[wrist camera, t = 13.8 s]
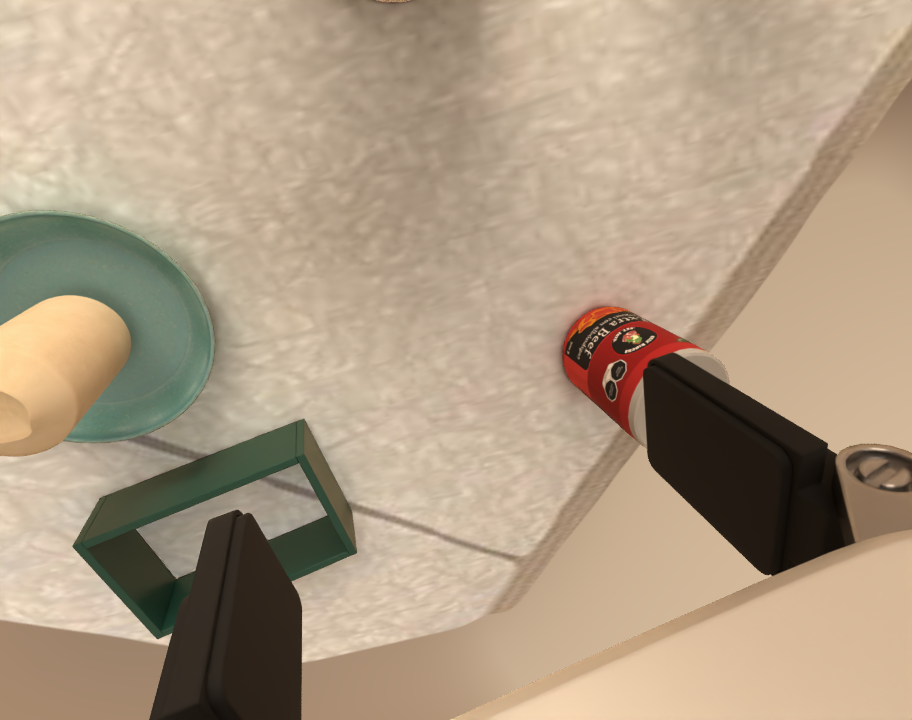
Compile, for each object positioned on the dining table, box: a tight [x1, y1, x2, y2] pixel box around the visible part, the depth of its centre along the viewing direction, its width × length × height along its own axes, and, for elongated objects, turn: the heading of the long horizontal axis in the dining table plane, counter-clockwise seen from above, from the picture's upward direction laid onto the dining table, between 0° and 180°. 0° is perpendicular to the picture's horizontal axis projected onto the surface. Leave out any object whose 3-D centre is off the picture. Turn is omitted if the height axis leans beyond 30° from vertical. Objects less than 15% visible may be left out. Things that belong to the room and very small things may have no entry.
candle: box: [0, 295, 132, 456], centre depth 25 cm, size 6×6×10 cm
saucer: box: [0, 210, 215, 443], centre depth 31 cm, size 15×15×3 cm
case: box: [73, 419, 357, 639], centre depth 38 cm, size 10×16×5 cm, turn 107°
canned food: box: [563, 307, 729, 448], centre depth 39 cm, size 8×8×11 cm
